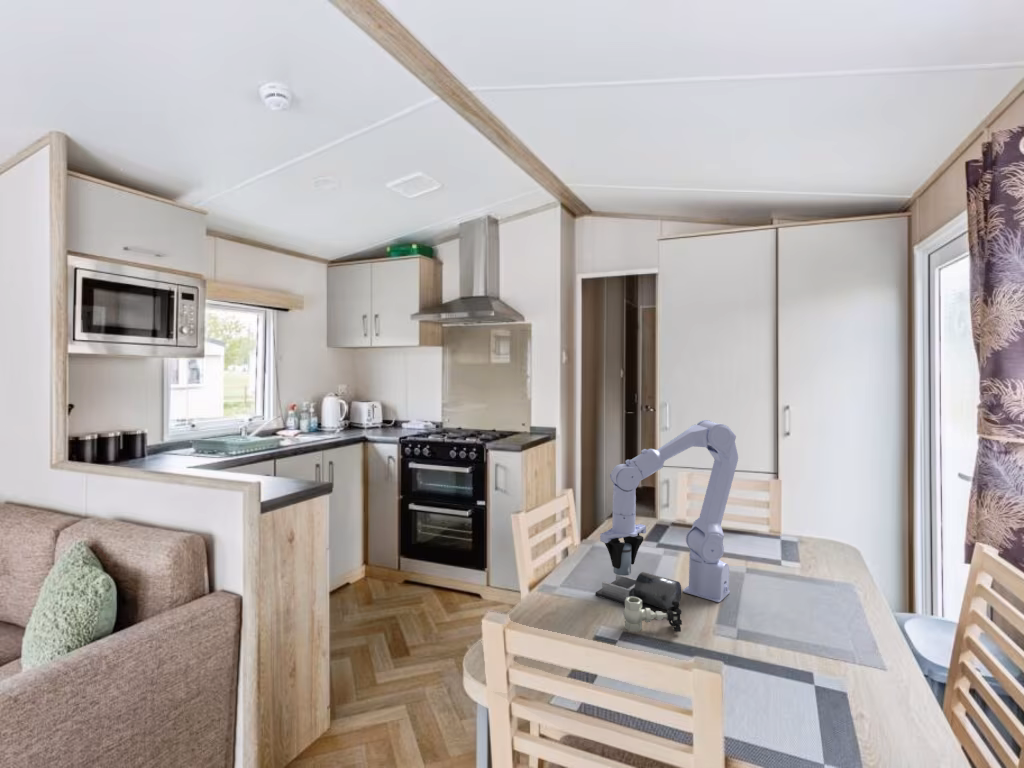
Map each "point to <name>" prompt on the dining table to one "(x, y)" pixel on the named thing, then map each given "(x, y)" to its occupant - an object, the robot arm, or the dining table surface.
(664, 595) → the motor
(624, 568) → the banded grey cylinder
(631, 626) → the valve
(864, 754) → the dining table surface
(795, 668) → the dining table surface
